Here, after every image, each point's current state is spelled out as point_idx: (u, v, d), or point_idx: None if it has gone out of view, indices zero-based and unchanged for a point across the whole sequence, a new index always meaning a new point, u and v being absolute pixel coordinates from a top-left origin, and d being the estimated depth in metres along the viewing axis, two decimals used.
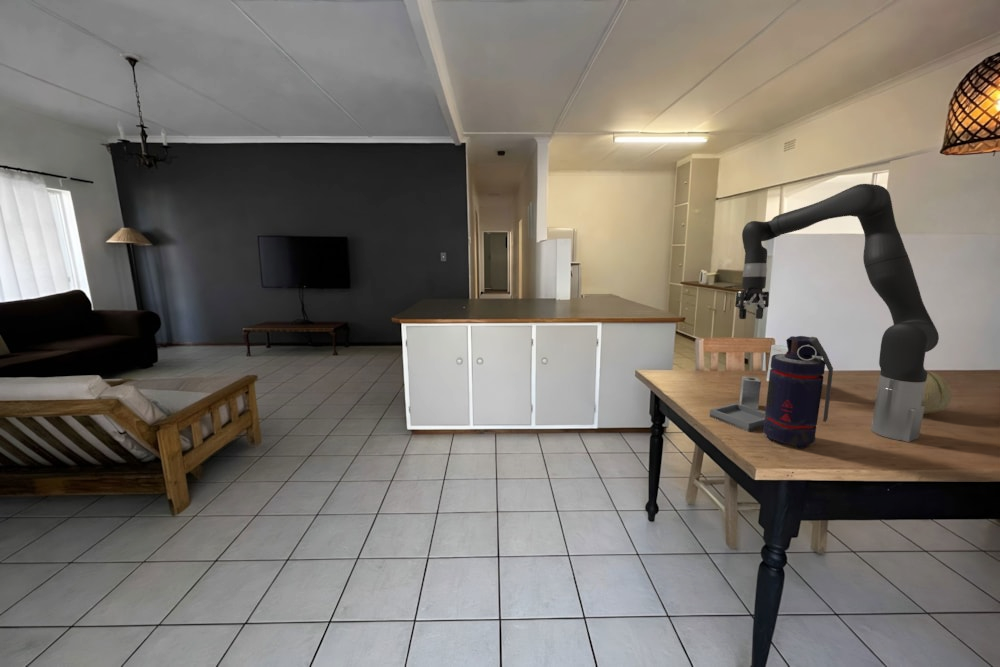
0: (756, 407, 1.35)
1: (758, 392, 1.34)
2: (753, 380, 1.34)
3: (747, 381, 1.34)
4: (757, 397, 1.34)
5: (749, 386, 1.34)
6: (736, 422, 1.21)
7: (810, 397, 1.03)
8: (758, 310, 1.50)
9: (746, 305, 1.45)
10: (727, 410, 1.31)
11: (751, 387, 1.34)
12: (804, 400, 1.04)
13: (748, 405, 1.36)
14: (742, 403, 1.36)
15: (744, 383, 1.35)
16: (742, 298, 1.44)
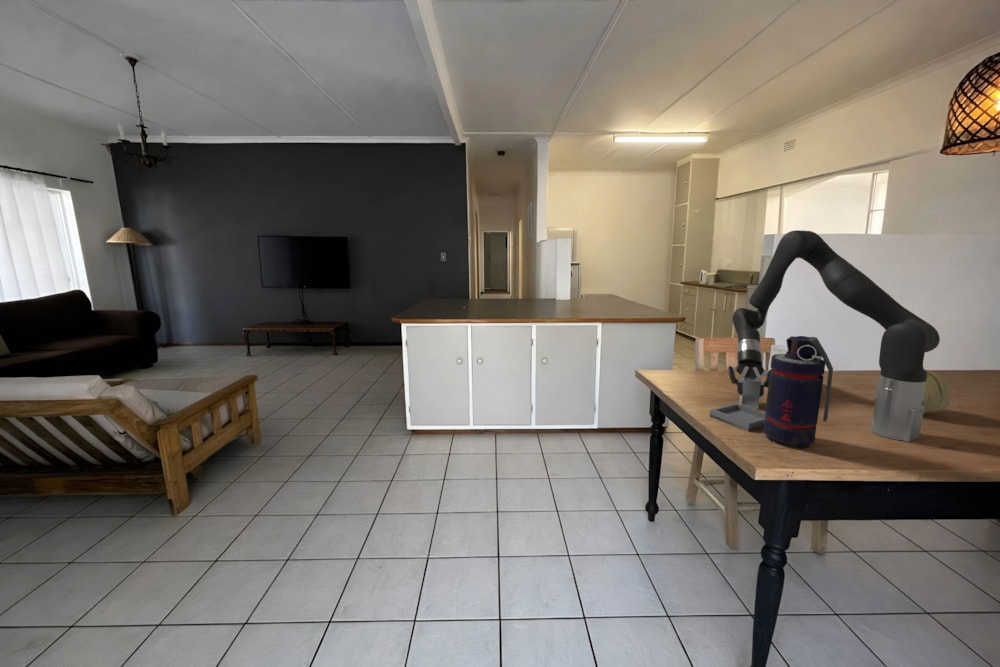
0: (756, 407, 1.35)
1: (758, 392, 1.34)
2: (753, 380, 1.34)
3: (747, 381, 1.34)
4: (757, 397, 1.34)
5: (749, 386, 1.34)
6: (736, 422, 1.21)
7: (810, 397, 1.03)
8: None
9: (740, 379, 1.38)
10: (727, 410, 1.31)
11: (751, 387, 1.34)
12: (804, 400, 1.04)
13: (748, 405, 1.35)
14: (742, 403, 1.36)
15: (744, 383, 1.35)
16: (731, 372, 1.41)
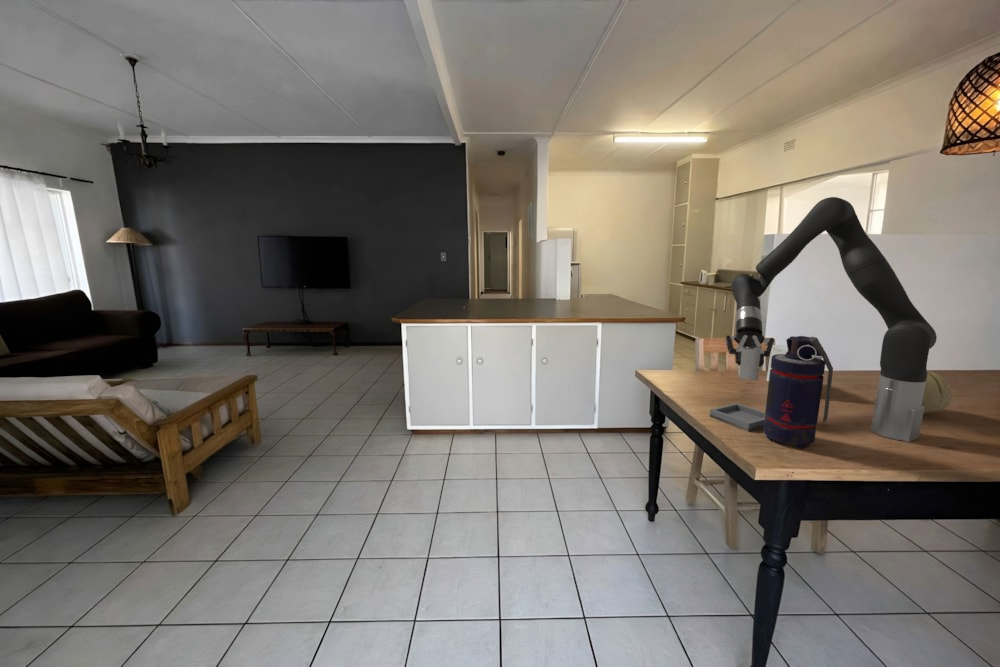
0: (756, 378, 1.24)
1: (758, 361, 1.23)
2: (752, 348, 1.24)
3: (746, 349, 1.24)
4: (757, 367, 1.23)
5: (748, 355, 1.24)
6: (736, 422, 1.21)
7: (810, 397, 1.03)
8: None
9: (738, 348, 1.28)
10: (727, 410, 1.31)
11: (750, 356, 1.24)
12: (804, 400, 1.04)
13: (747, 376, 1.25)
14: (740, 374, 1.26)
15: (742, 352, 1.24)
16: (729, 342, 1.30)
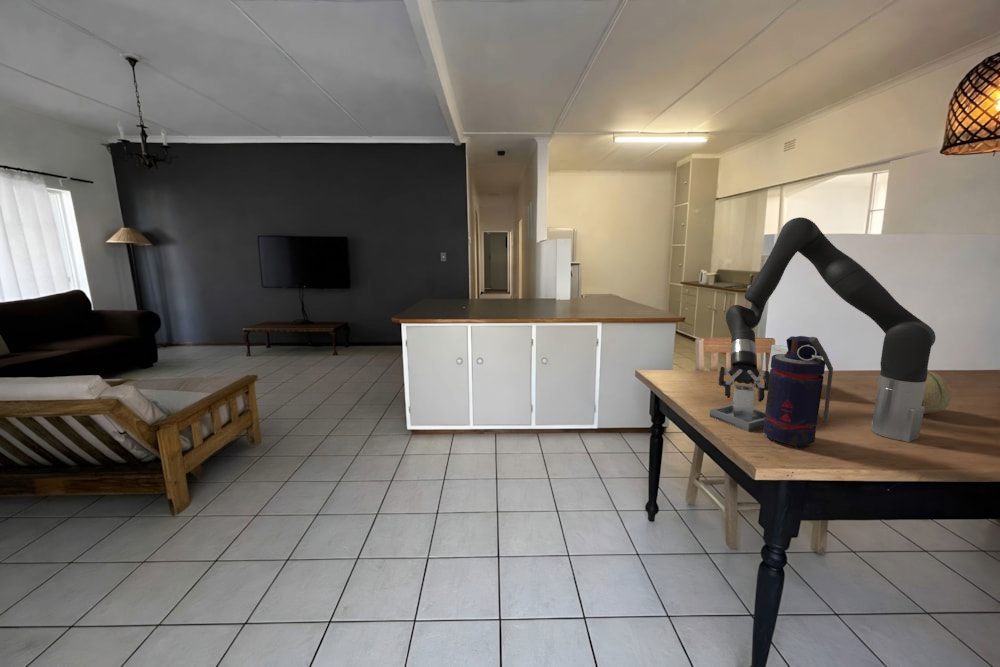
0: (750, 419, 1.23)
1: (752, 403, 1.22)
2: (747, 389, 1.22)
3: (740, 390, 1.22)
4: (751, 408, 1.22)
5: (742, 396, 1.23)
6: (736, 422, 1.21)
7: (810, 397, 1.03)
8: (758, 391, 1.23)
9: (729, 381, 1.27)
10: (727, 410, 1.31)
11: (744, 397, 1.22)
12: (804, 400, 1.04)
13: (741, 417, 1.24)
14: (735, 414, 1.24)
15: (737, 393, 1.23)
16: (721, 373, 1.29)
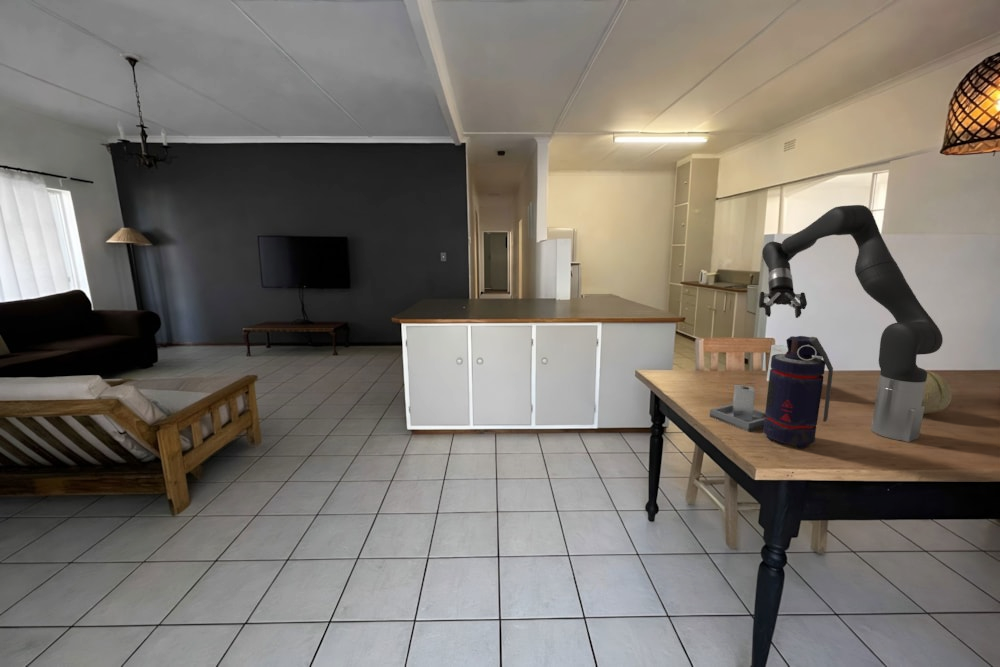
0: (750, 419, 1.23)
1: (752, 403, 1.22)
2: (747, 389, 1.22)
3: (740, 390, 1.22)
4: (751, 408, 1.22)
5: (742, 396, 1.23)
6: (736, 422, 1.21)
7: (810, 397, 1.03)
8: (795, 309, 1.42)
9: (769, 302, 1.45)
10: (727, 410, 1.31)
11: (744, 397, 1.22)
12: (804, 400, 1.04)
13: (741, 417, 1.24)
14: (735, 414, 1.24)
15: (737, 393, 1.23)
16: (761, 297, 1.47)
